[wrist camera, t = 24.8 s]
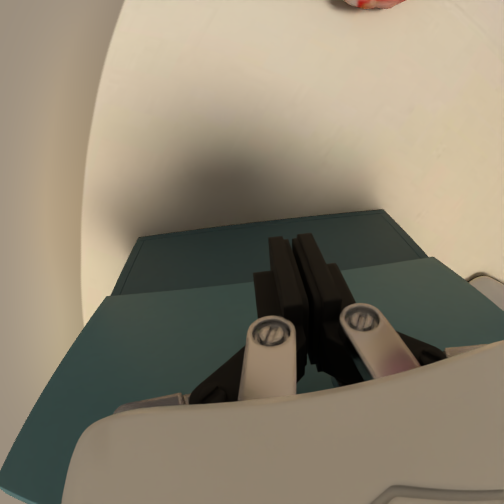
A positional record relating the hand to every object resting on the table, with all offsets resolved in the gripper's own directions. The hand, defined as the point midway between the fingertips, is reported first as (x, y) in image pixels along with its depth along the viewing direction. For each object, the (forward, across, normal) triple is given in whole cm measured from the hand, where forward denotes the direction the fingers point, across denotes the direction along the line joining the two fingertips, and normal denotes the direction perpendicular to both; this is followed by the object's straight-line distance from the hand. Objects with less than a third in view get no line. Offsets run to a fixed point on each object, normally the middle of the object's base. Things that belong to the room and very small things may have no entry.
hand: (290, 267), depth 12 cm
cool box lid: (-2, 0, +4) cm, 5 cm away
